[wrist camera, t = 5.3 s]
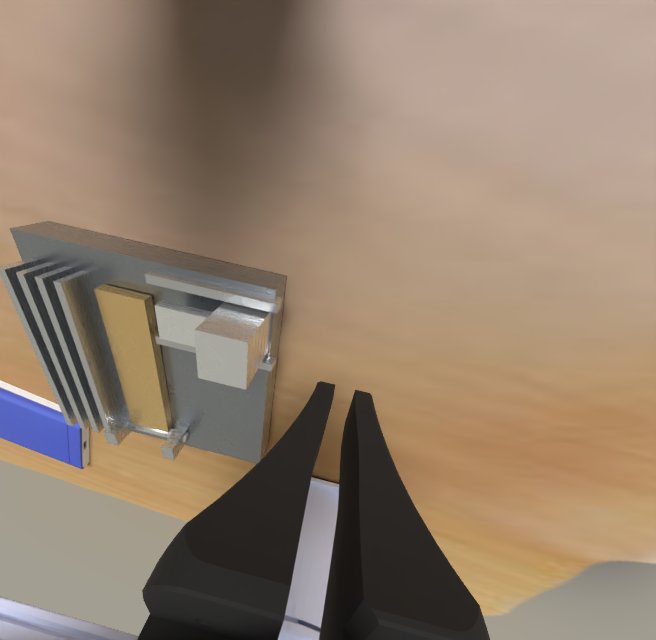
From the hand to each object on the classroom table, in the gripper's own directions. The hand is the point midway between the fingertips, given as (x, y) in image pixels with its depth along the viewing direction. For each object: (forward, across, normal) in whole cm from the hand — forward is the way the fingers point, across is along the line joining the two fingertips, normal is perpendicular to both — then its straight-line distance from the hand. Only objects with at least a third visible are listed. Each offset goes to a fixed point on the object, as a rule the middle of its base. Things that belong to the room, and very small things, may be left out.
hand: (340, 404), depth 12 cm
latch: (+4, +7, 0) cm, 8 cm away
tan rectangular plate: (+4, +13, +5) cm, 14 cm away
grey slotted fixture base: (+6, +12, +5) cm, 14 cm away
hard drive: (+7, +28, +18) cm, 34 cm away
